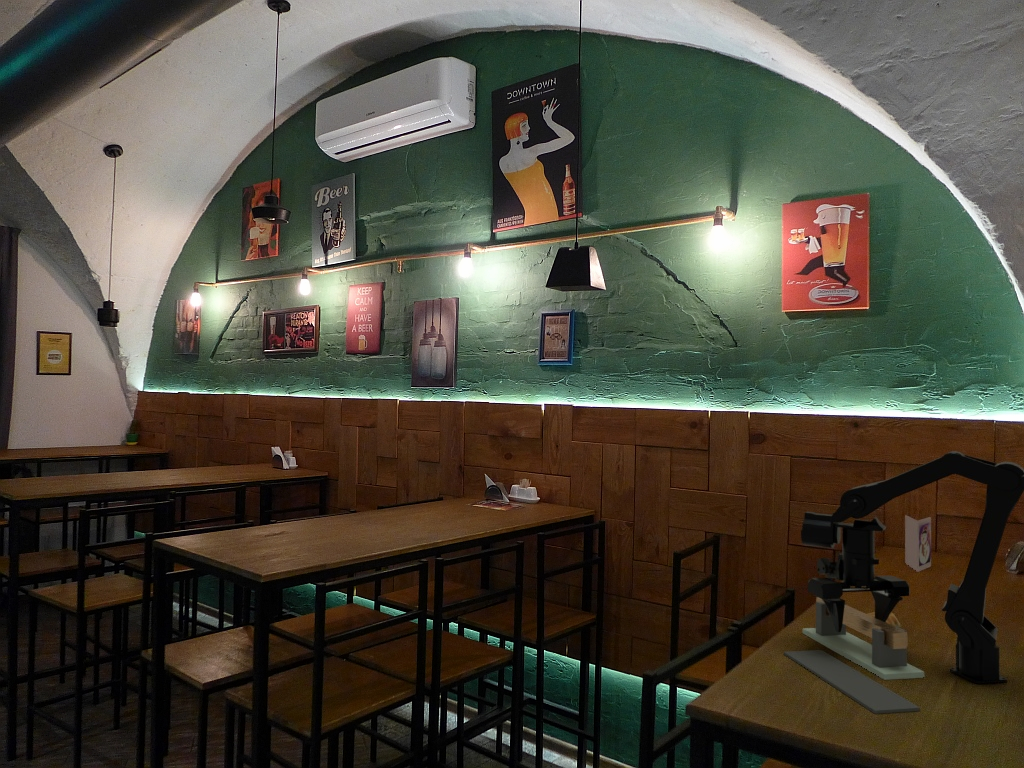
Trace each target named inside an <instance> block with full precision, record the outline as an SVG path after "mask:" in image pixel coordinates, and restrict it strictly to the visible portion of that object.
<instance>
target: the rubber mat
mask: <svg viewBox="0 0 1024 768" xmlns="http://www.w3.org/2000/svg"><path fill="white" fill-rule="evenodd" d="M783 656H786V657H787V658H789V659H790V660H791V661H793V662H795V663H796V662H797V663H796V664H798V665H799V664H800V665H799V666H801V665H802V666H803V668H804V667H805V668H806V669H805V668H804V669H805V670H807V669H808V670H807V671H808V672H810V671H811V672H810V673H812V674H813V673H814V674H813V675H815V676H816V675H817V676H816V677H818V678H819V677H820V678H819V679H821V680H822V679H823V680H822V681H823V682H825V681H826V683H827V684H828V683H829V685H830V686H831V687H833V688H835V689H836V690H837V691H840V693H842V694H844V695H845V696H847V697H849V698H850V699H852V700H853V701H855V702H856V703H858V704H859V705H861V706H862V707H864V708H865V709H867V710H868V711H870V712H872V713H873V714H876V715H877V714H879V715H880V714H891V713H892V714H893V713H895V714H896V713H905V712H907V713H909V712H920V711H921V707H920V706H918V705H917V704H915V703H913V702H911V701H910V700H908V699H906V698H905V697H902V696H901V695H900V694H897V693H895V692H894V691H892V690H890V689H889V688H887V687H886V686H883V685H882V684H881V683H878V682H877V681H875V680H873V679H872V678H870V677H869V676H867V675H865V674H863V673H862V672H860V671H858V670H857V669H854V668H853V667H851V666H850V665H848V664H846V663H844V662H842V661H841V660H839V659H838V658H836V657H834V656H833V655H831V654H829V653H827V652H825V651H824V650H822V649H816V650H815V649H814V650H813V649H811V650H793V651H783ZM802 666H801V667H802Z"/></svg>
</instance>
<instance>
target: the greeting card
mask: <svg viewBox="0 0 1024 768" xmlns="http://www.w3.org/2000/svg"><path fill="white" fill-rule="evenodd" d="M904 524H905V525H904V530H905V531H904V535H905V536H904V540H905V541H904V545H905V546H904V553H905V555H904V557H905V559H904V562H905V563H906V564H905V563H904V564H905V565H907V566H908V565H909V566H908V567H910V568H911V569H912V568H913V570H914V571H915V570H916V571H915V572H916V573H919V572H921V571H923V570H926V569H928V568H931V566H932V517H931V516H929V517H925V518H922V519H919V520H917V519H915V518H912V517H911V516H909V515H907V514H905V517H904Z"/></svg>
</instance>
